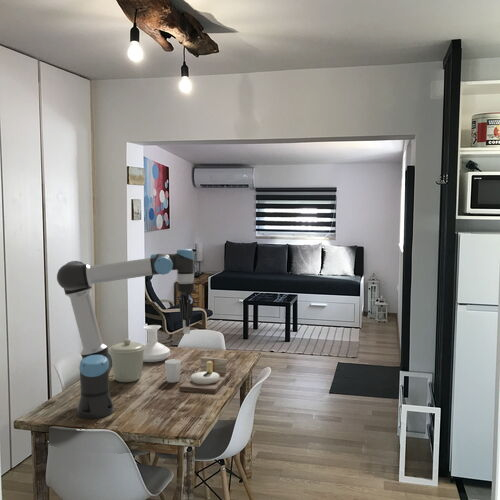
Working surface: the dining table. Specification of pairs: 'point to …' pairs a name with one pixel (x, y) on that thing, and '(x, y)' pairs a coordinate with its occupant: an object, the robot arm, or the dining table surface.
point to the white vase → (154, 346)
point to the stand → (218, 367)
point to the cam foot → (205, 376)
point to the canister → (127, 360)
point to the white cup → (173, 370)
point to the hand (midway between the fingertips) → (186, 333)
